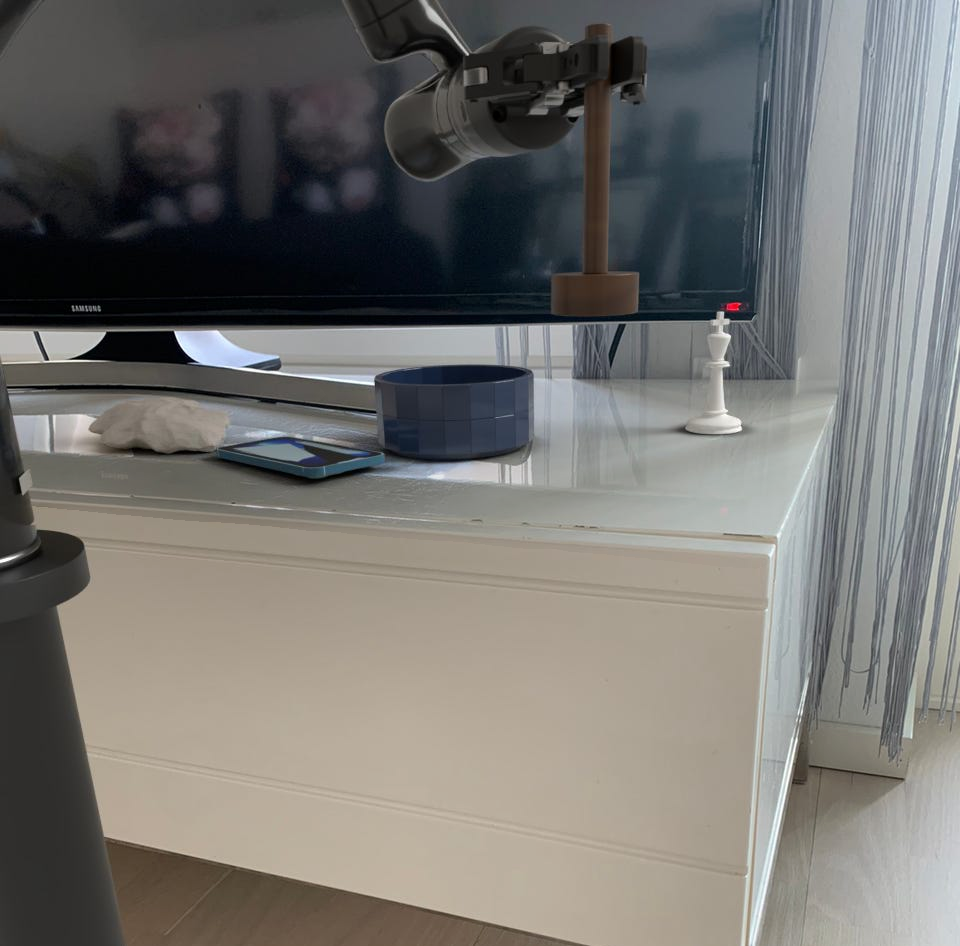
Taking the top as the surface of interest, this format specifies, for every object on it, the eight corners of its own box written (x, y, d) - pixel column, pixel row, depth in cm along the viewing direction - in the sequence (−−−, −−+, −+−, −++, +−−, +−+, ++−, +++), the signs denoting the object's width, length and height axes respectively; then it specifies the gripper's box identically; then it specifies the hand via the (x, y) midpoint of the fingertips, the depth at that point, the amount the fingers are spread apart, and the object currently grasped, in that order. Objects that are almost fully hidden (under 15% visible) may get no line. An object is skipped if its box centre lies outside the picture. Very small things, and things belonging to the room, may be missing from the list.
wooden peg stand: (631, 316, 60) (640, 12, 54) (542, 316, 62) (541, 21, 56) (643, 309, 65) (652, 30, 59) (560, 309, 67) (561, 37, 61)
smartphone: (285, 435, 87) (390, 453, 76) (287, 446, 87) (391, 465, 77) (210, 448, 82) (310, 469, 72) (212, 459, 82) (312, 482, 72)
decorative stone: (66, 448, 90) (177, 480, 82) (55, 407, 88) (168, 437, 80) (159, 413, 97) (269, 440, 90) (151, 375, 95) (263, 399, 88)
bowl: (513, 464, 77) (511, 386, 75) (356, 459, 80) (350, 384, 78) (547, 433, 89) (547, 364, 86) (409, 430, 92) (405, 364, 90)
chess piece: (674, 427, 89) (679, 312, 85) (719, 422, 91) (726, 308, 87) (706, 436, 85) (713, 315, 81) (753, 430, 87) (762, 311, 83)
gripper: (418, 33, 67) (507, -28, 52) (599, 39, 71) (731, -16, 56) (423, 155, 70) (509, 130, 55) (597, 154, 74) (722, 131, 59)
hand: (621, 56), depth 56 cm, fingers closed on wooden peg stand
